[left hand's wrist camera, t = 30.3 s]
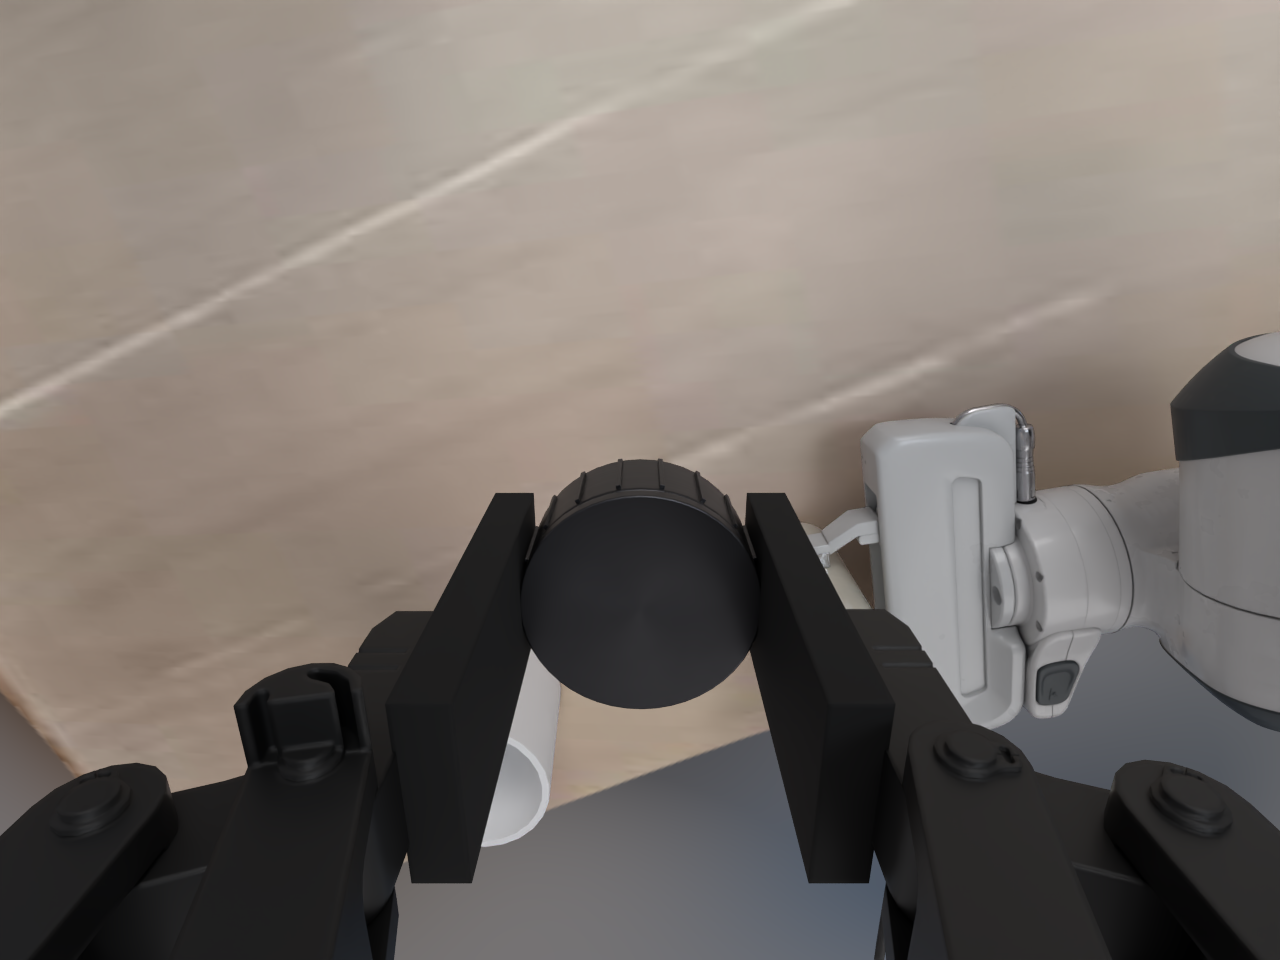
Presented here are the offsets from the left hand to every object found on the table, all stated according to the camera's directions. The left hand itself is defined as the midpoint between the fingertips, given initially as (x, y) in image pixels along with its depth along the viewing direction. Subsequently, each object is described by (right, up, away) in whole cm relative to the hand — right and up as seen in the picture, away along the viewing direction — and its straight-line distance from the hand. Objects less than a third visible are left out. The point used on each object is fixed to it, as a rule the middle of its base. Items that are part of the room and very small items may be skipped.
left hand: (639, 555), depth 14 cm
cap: (0, -1, -2) cm, 2 cm away
